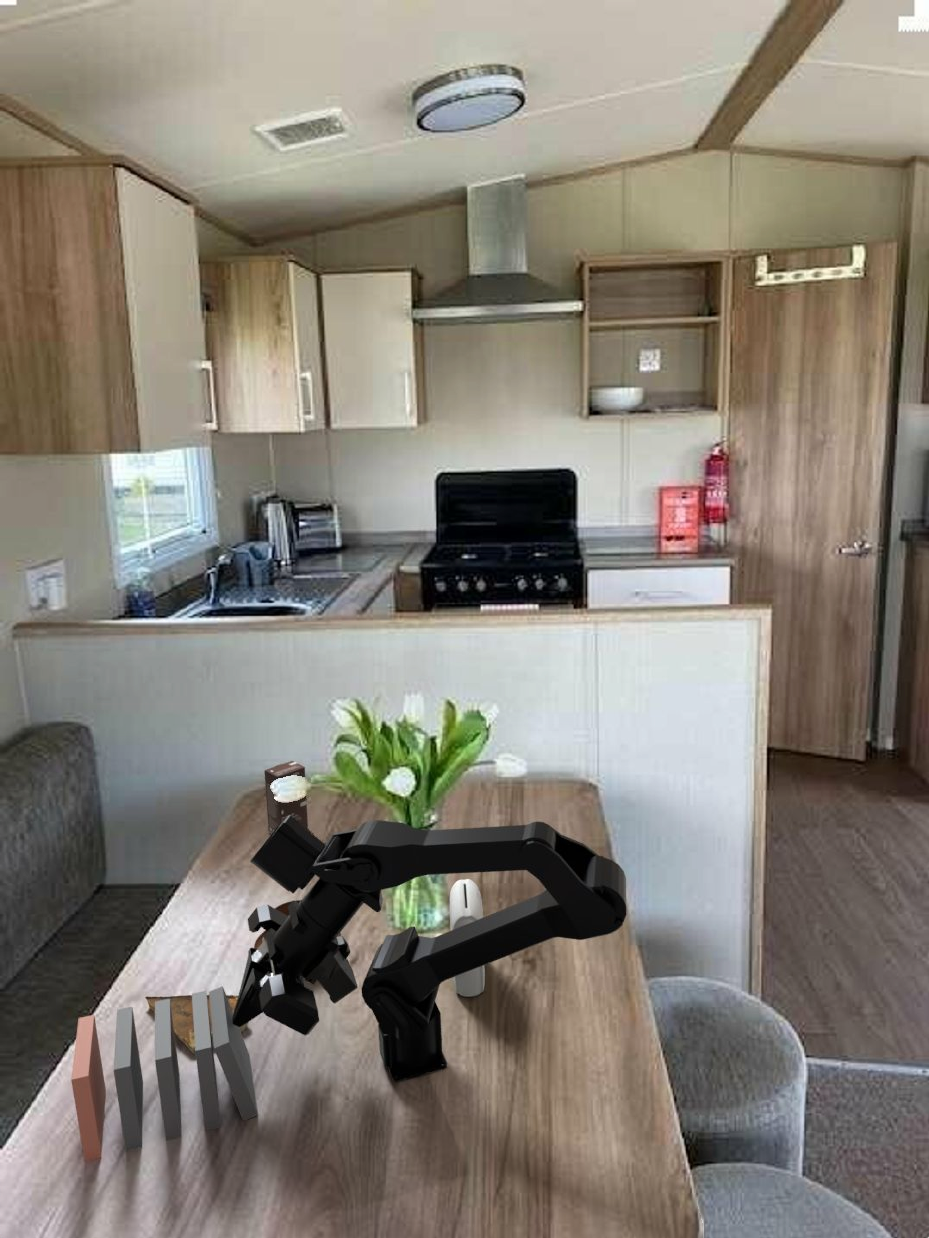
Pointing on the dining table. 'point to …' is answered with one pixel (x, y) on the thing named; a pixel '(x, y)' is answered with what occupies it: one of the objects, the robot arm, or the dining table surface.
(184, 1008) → the shard
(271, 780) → the box
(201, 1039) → the domino
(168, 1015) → the domino
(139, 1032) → the dining table surface
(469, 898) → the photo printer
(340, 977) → the robot arm
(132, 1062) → the domino
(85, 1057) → the domino
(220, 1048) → the domino
